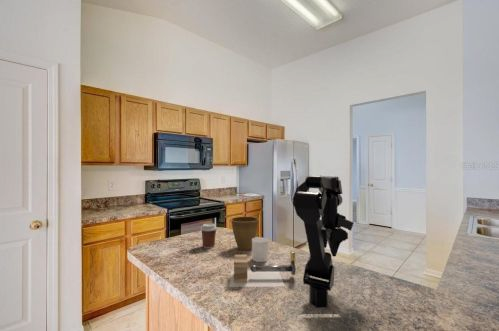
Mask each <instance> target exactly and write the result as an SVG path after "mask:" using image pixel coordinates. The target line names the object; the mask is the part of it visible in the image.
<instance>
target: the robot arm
mask: <svg viewBox="0 0 499 331" xmlns="http://www.w3.org/2000/svg"><path fill="white" fill-rule="evenodd" d="M310 189H318V190H319V192H317V191H315V192H314V191H309V190H310ZM342 194H343V187H342V181H341V179H340V178H339V176H332V175H331V176H330V175H329V176H327V175H326V176H324V175H310V174H309V175H307V176H306V177H305V180H304V182H302V183H301V184H300V185H299V186H297V187H296V189H295V192H294V194H293V198H292V206H293V207H294V210H295V213H296V216H297V217H298V218H299V219H300V220H301V221H303V225H304V230H305V235H306V240H307V246H308V251H309V257H308V260H307V261H306V264H305V267H304V273H303V277H302V281H303V282H302V283H303V284H304V285H307V286H308V287H309V288H308V290H309V291H308V292H309V293H308V295H309V296H308V298H309V300H308V301H309V303H310V304H311V305H313V306H314V307H315V308H317V309H318V308H319V309H320V308H322V309H323V308H324V309H325V308H328V304H329V299H328V298H329V292H331V291H332V289H333V287H334V283H335V282H334V281H335V269H336V268H335V266H334V265H333V258H332V257H337V253H338V251H339V248H340V245H341V244H342V242H345V241H346V240H348V239H349V232H347V231H346V230H345V229H347V230H348V231H352V229H353V226H354V222H353V221H351V220H348V219H347V218H346V216H345V215H342V214H340V213H339V212H338V207H339V206H340V205H342V204H343V197H342ZM327 245H328V247H329V250H330V252H326V250H325V249H326V248H327Z"/></svg>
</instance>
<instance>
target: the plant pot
mask: <svg viewBox="0 0 499 331" xmlns="http://www.w3.org/2000/svg"><path fill="white" fill-rule="evenodd" d="M230 221H231V228H232V232H233V236H234V240H235V244H236V246H237V249H238V250H241V251H250V250H252V239H253V238H256V237H257V231H258V227H259V226H258V225H259V218H257V217H256V216H254V217H253V216H236V217H232V218H231V220H230Z"/></svg>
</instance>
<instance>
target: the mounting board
mask: <svg viewBox="0 0 499 331" xmlns="http://www.w3.org/2000/svg"><path fill="white" fill-rule="evenodd" d="M285 286H286V285H285V283H284V281H283V277H282V275H281V272H252V271H251V269H247V283H234V269H231V270H230V278H229V286H228V287H229V288H248V287H249V288H255V287H256V288H257V287H259V288H262V287H263V288H270V287H271V288H272V287H274V288H276V287H278V288H279V287H280V288H281V287H283V288H285Z"/></svg>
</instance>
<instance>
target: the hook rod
mask: <svg viewBox="0 0 499 331" xmlns="http://www.w3.org/2000/svg"><path fill="white" fill-rule="evenodd" d="M250 270H251V271H252V272H280V273H281V272H282V273H283V272H284V273H286V272H289V273H290V274H291V276H295V275H296V252H295V251H290V265H289V264H287V265H279V264H278V265H255V264H253V265H251V266H250Z"/></svg>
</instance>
